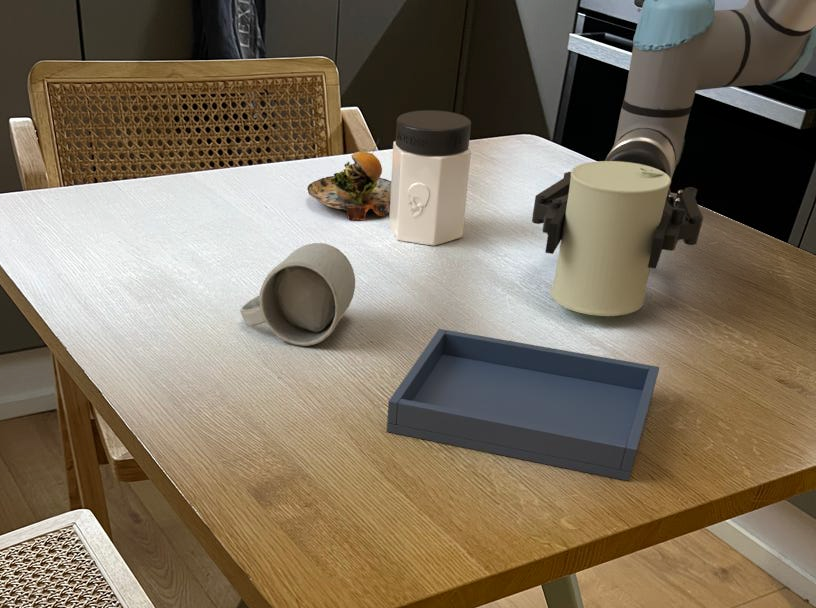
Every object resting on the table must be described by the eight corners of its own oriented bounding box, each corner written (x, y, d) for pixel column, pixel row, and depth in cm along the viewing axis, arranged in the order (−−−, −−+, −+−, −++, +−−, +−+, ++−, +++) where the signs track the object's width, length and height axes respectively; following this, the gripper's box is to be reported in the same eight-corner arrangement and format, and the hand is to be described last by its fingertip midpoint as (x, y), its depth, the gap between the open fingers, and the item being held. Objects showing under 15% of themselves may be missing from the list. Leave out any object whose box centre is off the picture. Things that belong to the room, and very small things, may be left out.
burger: (318, 185, 125) (318, 121, 120) (408, 193, 124) (412, 129, 119) (296, 216, 117) (296, 149, 112) (393, 224, 115) (397, 157, 110)
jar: (377, 238, 111) (382, 124, 103) (399, 216, 117) (406, 106, 109) (452, 250, 109) (463, 134, 101) (471, 226, 115) (483, 115, 107)
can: (659, 312, 94) (691, 182, 86) (571, 319, 93) (596, 188, 85) (619, 276, 101) (645, 153, 93) (536, 283, 100) (556, 157, 92)
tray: (652, 396, 84) (659, 366, 82) (628, 481, 74) (636, 449, 72) (436, 357, 89) (438, 328, 87) (386, 431, 79) (388, 400, 77)
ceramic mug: (358, 315, 95) (359, 236, 90) (338, 351, 90) (338, 268, 84) (256, 305, 97) (251, 226, 92) (230, 339, 91) (223, 257, 86)
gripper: (728, 225, 105) (712, 303, 89) (532, 200, 110) (484, 269, 95) (748, 151, 100) (735, 219, 84) (542, 128, 106) (493, 188, 90)
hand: (602, 245), depth 89 cm, fingers closed on can, 9 cm apart
